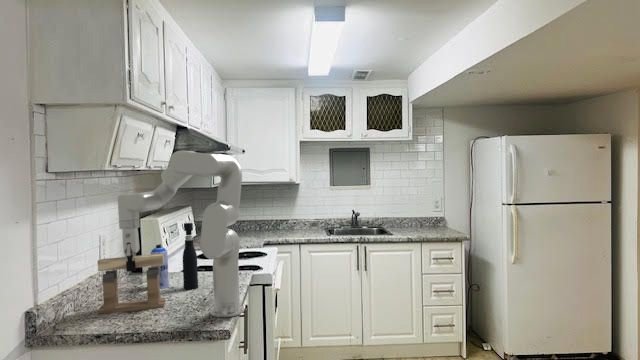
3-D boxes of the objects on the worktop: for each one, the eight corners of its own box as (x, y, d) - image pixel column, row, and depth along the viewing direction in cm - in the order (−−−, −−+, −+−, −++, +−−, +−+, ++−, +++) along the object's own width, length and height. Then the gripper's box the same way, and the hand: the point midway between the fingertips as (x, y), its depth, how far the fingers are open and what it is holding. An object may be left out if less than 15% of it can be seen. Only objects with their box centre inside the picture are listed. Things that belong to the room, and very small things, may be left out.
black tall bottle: (181, 288, 208) (178, 223, 207) (194, 285, 212) (192, 222, 211) (187, 290, 203) (184, 224, 202) (200, 288, 207) (197, 223, 206)
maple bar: (163, 265, 181) (162, 255, 181) (98, 271, 175) (97, 261, 174) (163, 263, 185) (163, 253, 185) (100, 269, 178) (99, 259, 178)
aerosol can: (160, 289, 206) (158, 246, 205) (147, 288, 210) (145, 245, 209) (172, 285, 213) (171, 243, 212) (160, 284, 217) (159, 242, 216)
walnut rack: (163, 307, 179) (162, 269, 179) (98, 314, 173) (96, 275, 173) (165, 301, 187) (163, 265, 187) (102, 308, 181) (100, 271, 181)
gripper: (136, 225, 172) (139, 273, 173) (142, 221, 188) (144, 264, 189) (115, 227, 170) (118, 275, 171) (122, 222, 186) (125, 266, 187)
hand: (132, 269), depth 180 cm, fingers closed on maple bar, 4 cm apart
